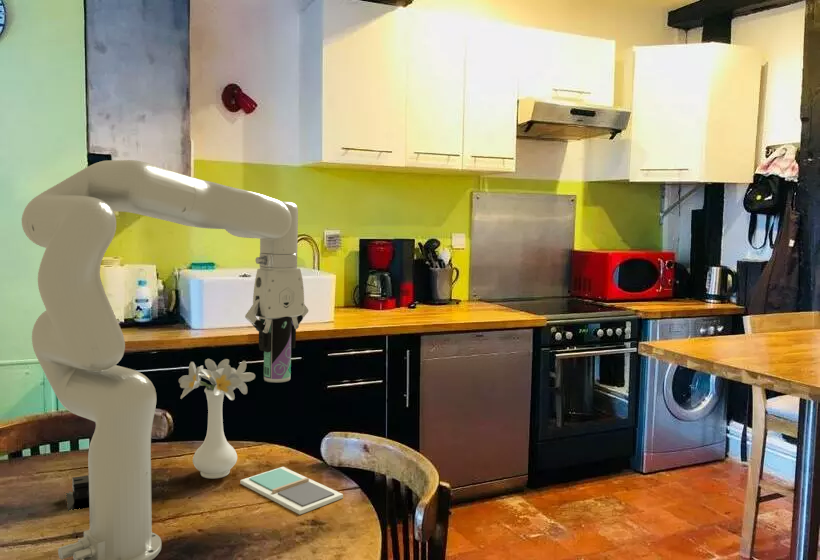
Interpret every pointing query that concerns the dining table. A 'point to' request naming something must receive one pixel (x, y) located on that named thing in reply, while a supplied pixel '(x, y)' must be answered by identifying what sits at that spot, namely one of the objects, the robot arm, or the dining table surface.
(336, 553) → the dining table surface
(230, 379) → the flower vase
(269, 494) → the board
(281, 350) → the spray can
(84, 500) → the black angular piece
